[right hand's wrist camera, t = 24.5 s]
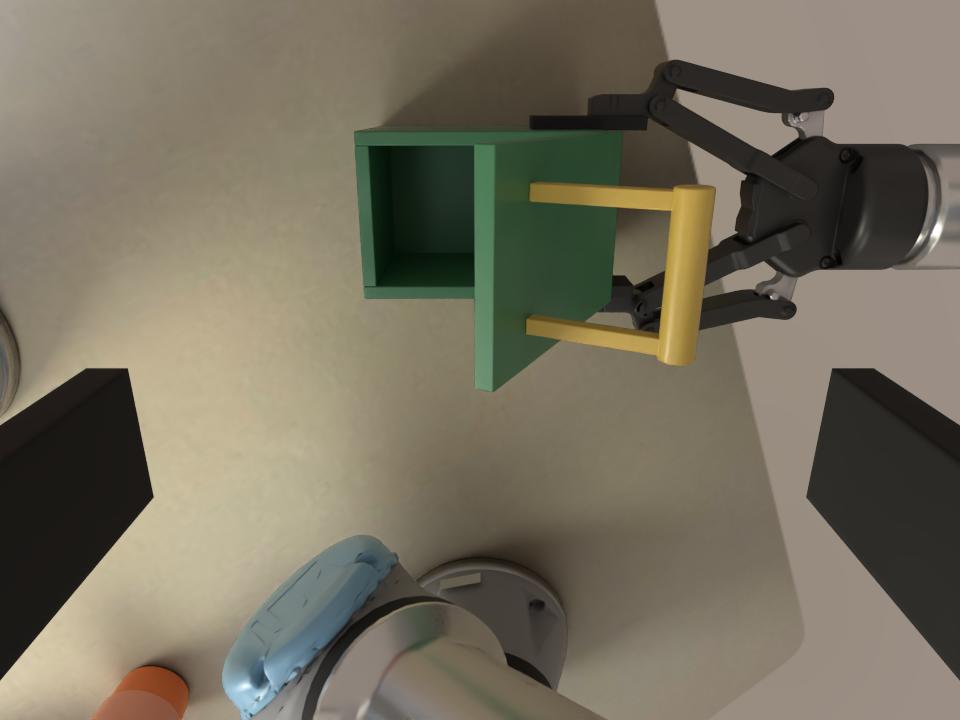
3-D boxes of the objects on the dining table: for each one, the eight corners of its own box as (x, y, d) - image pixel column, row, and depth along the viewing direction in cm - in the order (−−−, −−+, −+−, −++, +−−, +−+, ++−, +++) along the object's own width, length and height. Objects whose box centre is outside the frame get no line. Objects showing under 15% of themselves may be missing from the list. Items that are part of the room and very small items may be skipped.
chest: (386, 260, 48) (364, 299, 39) (379, 126, 45) (353, 130, 35) (577, 260, 48) (602, 298, 39) (584, 126, 45) (613, 130, 35)
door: (474, 389, 26) (670, 430, 23) (473, 143, 23) (702, 149, 20) (596, 300, 38) (736, 318, 35) (607, 131, 35) (762, 133, 32)
